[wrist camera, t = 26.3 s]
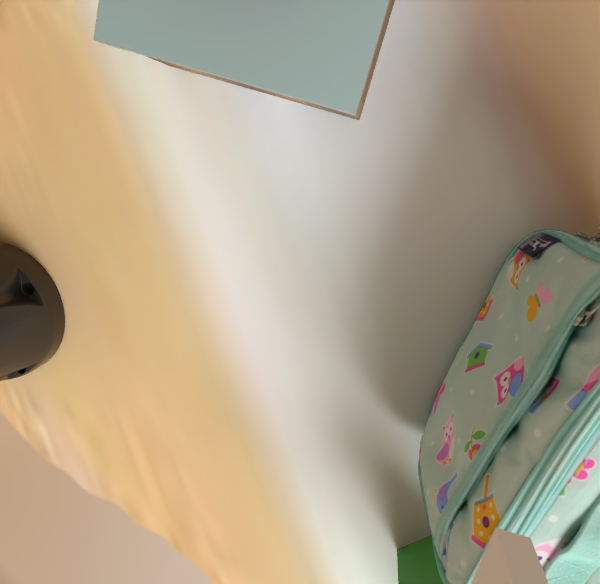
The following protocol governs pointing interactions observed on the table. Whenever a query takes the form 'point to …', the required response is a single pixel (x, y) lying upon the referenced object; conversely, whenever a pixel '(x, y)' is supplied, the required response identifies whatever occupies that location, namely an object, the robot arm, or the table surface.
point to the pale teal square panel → (257, 42)
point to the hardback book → (418, 563)
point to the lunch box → (523, 418)
